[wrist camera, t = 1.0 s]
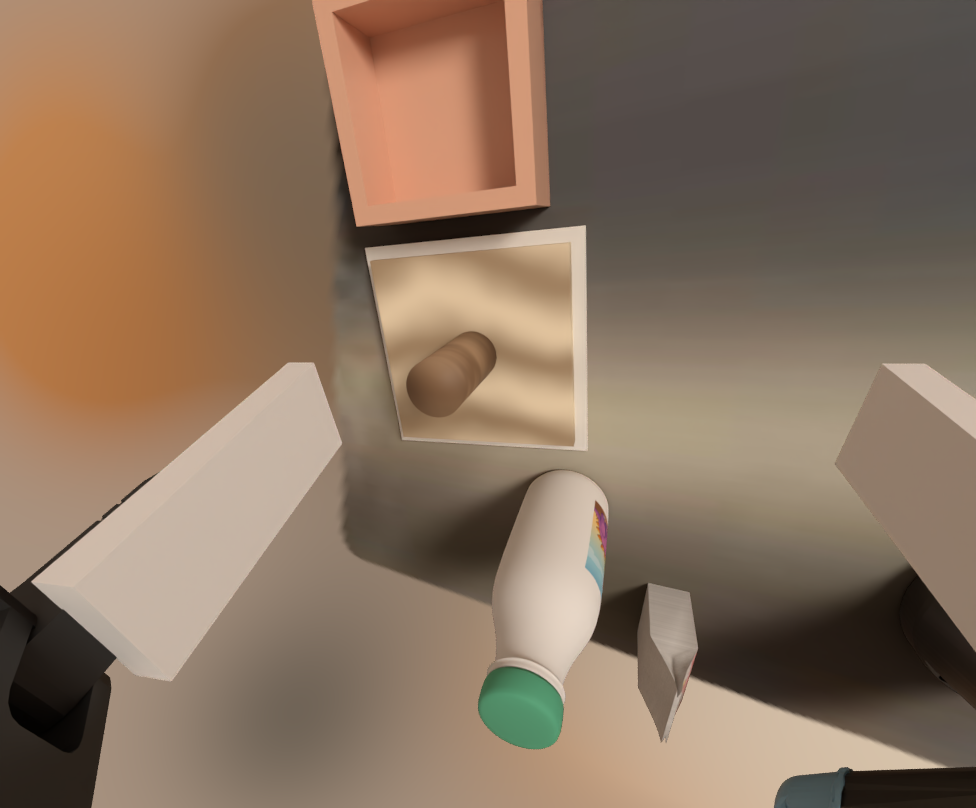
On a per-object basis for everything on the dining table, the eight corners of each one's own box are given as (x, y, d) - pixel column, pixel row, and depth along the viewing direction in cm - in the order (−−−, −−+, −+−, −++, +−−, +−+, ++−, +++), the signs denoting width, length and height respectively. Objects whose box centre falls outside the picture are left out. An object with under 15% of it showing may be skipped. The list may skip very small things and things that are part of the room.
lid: (575, 439, 36) (559, 503, 28) (409, 431, 41) (355, 482, 33) (571, 242, 30) (549, 251, 22) (377, 259, 35) (303, 272, 27)
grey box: (637, 631, 44) (638, 735, 35) (648, 582, 41) (652, 682, 32) (675, 641, 43) (687, 751, 34) (689, 592, 40) (705, 697, 31)
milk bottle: (513, 509, 42) (430, 716, 25) (549, 452, 38) (480, 649, 21) (583, 548, 41) (547, 790, 24) (625, 494, 38) (620, 733, 20)
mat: (587, 447, 37) (587, 450, 37) (404, 437, 43) (402, 439, 42) (585, 225, 30) (585, 225, 30) (368, 247, 36) (364, 247, 35)
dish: (550, 206, 30) (536, 204, 26) (391, 225, 35) (356, 226, 30) (541, -30, 26) (522, -80, 21) (357, 24, 30) (310, -9, 25)
